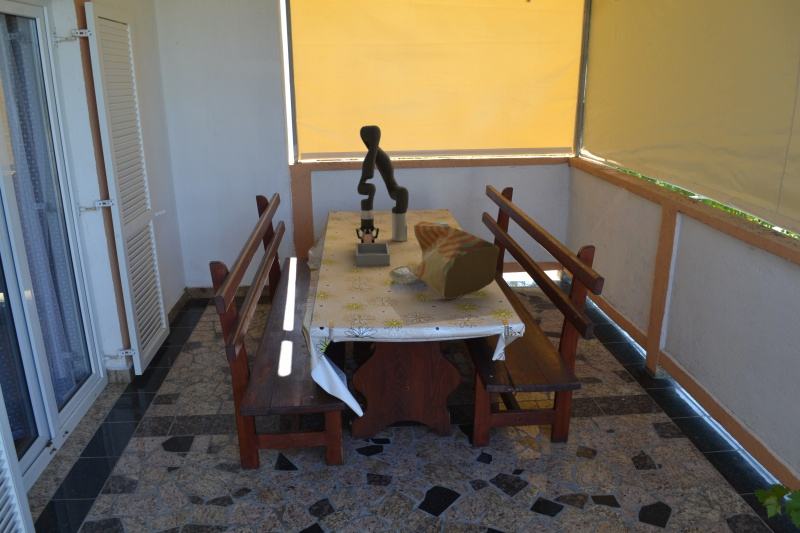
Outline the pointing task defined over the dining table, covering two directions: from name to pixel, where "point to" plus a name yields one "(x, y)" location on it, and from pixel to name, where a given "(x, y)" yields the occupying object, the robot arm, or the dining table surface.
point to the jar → (367, 238)
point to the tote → (372, 254)
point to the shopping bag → (453, 260)
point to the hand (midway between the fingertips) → (367, 245)
